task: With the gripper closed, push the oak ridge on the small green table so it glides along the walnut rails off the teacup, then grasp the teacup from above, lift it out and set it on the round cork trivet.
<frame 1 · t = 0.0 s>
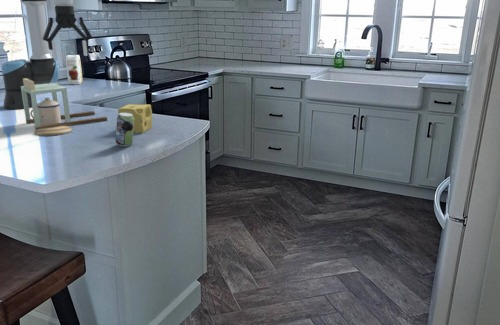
hand: (70, 56, 208), 28 cm above the table, tool pointing down, fingers open, 13 cm apart
trivet: (53, 131, 195), on the table
rails: (67, 121, 212), on the table
juice carton: (75, 84, 319), on the table
teacup with lid: (47, 125, 207), on the table
small green table: (45, 100, 204), point 11 cm above the table, slide at 0.0 cm
cheese: (136, 130, 197), on the table
beverage can: (126, 145, 175), on the table
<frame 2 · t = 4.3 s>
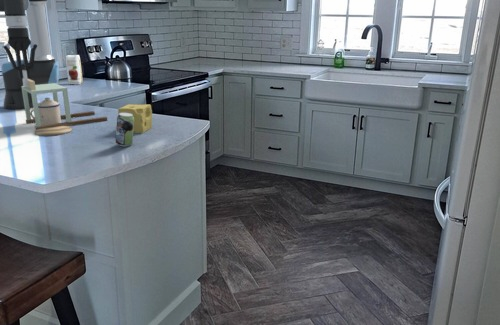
hand: (26, 86, 198), 17 cm above the table, tool pointing down, fingers closed
small green table: (45, 100, 204), point 11 cm above the table, slide at 0.3 cm, touching gripper
everything else where it was.
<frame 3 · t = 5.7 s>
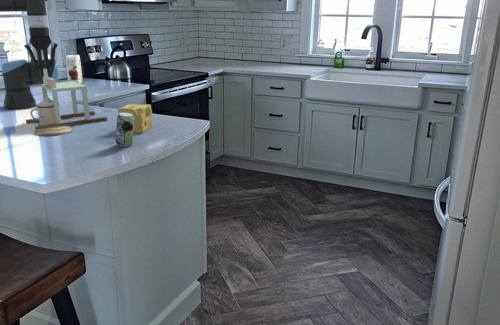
hand: (46, 84, 203), 17 cm above the table, tool pointing down, fingers closed
small green table: (65, 97, 209), point 11 cm above the table, slide at 8.4 cm, touching gripper
everything else where it was.
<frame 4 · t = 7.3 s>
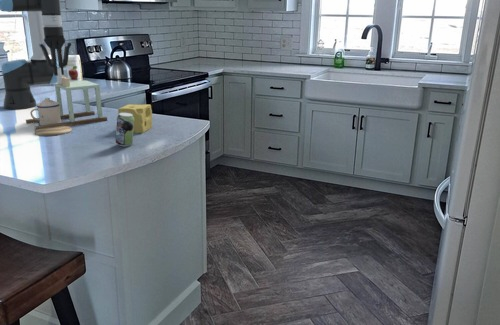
hand: (60, 82, 206), 17 cm above the table, tool pointing down, fingers closed
small green table: (78, 96, 212), point 11 cm above the table, slide at 14.1 cm, touching gripper
everything else where it was.
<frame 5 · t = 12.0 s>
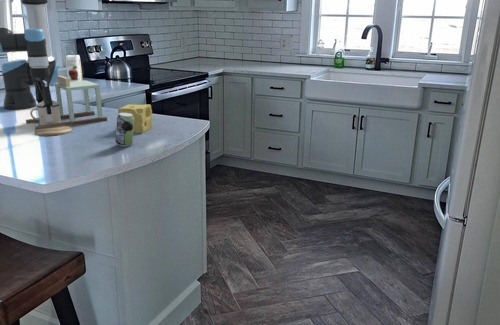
hand: (46, 119, 206), 2 cm above the table, tool pointing down, fingers closed on teacup with lid, 9 cm apart
teacup with lid: (47, 125, 207), on the table, touching gripper
small green table: (78, 96, 212), point 11 cm above the table, slide at 14.2 cm
everything else where it was.
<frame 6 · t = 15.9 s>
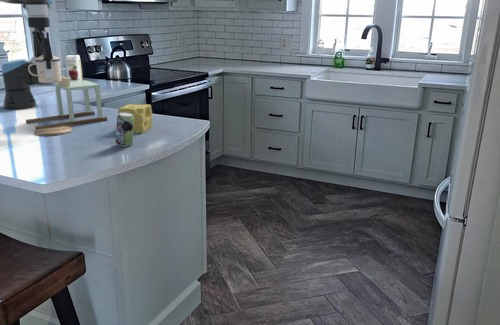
hand: (46, 76, 188), 23 cm above the table, tool pointing down, fingers closed on teacup with lid, 9 cm apart
teacup with lid: (46, 82, 189), point 20 cm above the table, touching gripper
everything else where it was.
when the fingers open (4 cm above the table, at t = 19.6 s): teacup with lid drops 1 cm, resting on trivet.
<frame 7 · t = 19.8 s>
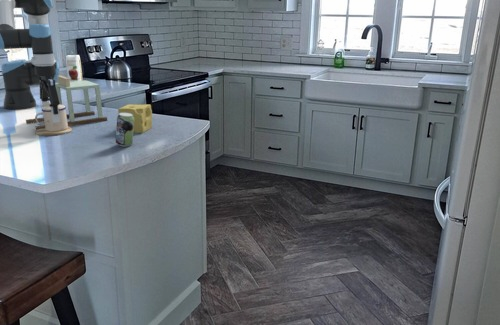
hand: (52, 119, 193), 5 cm above the table, tool pointing down, fingers open, 11 cm apart
teacup with lid: (53, 129, 195), point 1 cm above the table, touching trivet
everything else where it was.
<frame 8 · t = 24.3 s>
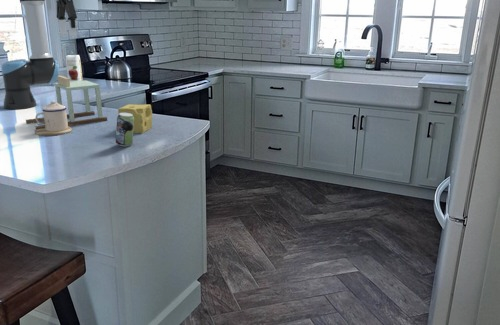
hand: (68, 35, 209), 37 cm above the table, tool pointing down, fingers open, 13 cm apart
nothing on the table moved.
at the end: small green table slide at 14.2 cm; teacup with lid 0.4 cm from the trivet (horizontally); teacup with lid tilted 0° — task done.
